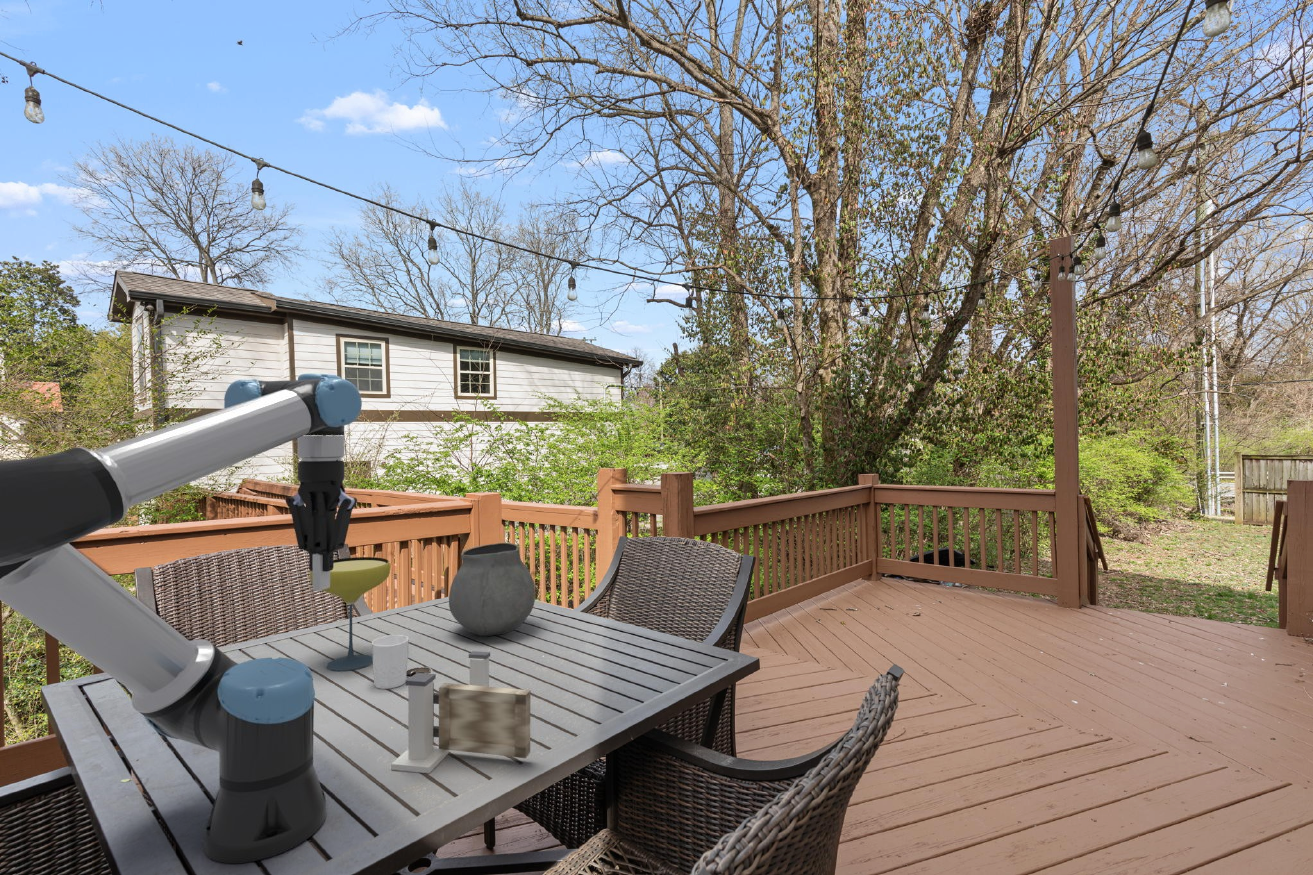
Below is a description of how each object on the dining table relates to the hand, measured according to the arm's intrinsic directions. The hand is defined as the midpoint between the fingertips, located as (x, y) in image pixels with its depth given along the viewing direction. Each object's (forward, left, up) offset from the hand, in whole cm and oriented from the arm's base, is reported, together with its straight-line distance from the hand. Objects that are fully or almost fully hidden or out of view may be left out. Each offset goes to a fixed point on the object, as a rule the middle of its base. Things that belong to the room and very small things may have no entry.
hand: (321, 588), depth 114 cm
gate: (+2, -29, -28) cm, 40 cm away
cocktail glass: (+40, +22, -30) cm, 54 cm away
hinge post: (-1, -20, -29) cm, 36 cm away
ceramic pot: (+69, -3, -30) cm, 75 cm away
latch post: (+23, -20, -29) cm, 42 cm away
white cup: (+30, +5, -30) cm, 43 cm away
